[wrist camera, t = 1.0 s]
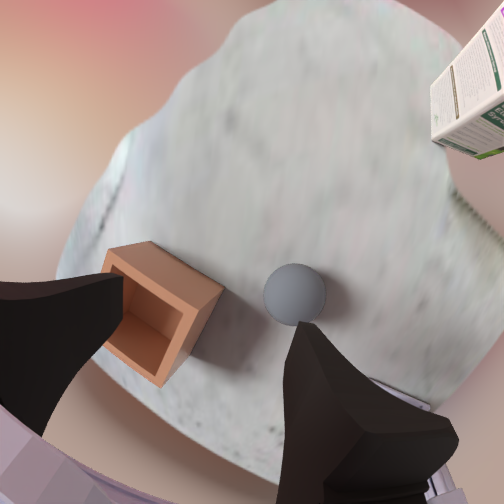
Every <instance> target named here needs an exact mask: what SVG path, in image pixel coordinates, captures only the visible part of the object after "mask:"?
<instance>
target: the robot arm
mask: <svg viewBox="0 0 504 504" xmlns="http://www.w3.org/2000/svg"><path fill="white" fill-rule="evenodd" d="M123 280H124V276H121V275H118V274H115V273H98V274H91V275H85V276H80V277H74V278H68V279H61V280H54V281H47V282H31V283H18V282H1V281H0V504H177V503H173V502H170V501H167V500H164V499H160V498H158V497H155V496H152V495H149V494H147V493H144V492H141V491H139V490H136V489H134V488H131V487H129V486H127V485H124V484H122V483H120V482H118V481H115V480H113V479H111V478H109V477H107V476H105V475H103V474H101V473H99V472H97V471H95V470H93V469H91V468H89V467H87V466H85V465H84V464H82V463H80V462H78V461H76V460H75V459H73V458H71V457H70V456H68V455H67V454H65V453H63V452H62V451H60V450H59V449H57V448H55V447H54V446H52V445H51V444H49V443H48V442H46V441H45V440H44V439H42V435H43V433H44V430H45V428H46V426H47V423H48V421H49V419H50V417H51V415H52V413H53V411H54V409H55V407H56V405H57V403H58V402H59V400H60V398H61V397H62V395H63V393H64V391H65V390H66V388H67V387H68V385H69V384H70V382H71V381H72V379H73V378H74V377H75V375H76V374H77V372H78V371H79V370H80V368H82V366H83V365H84V364H85V363H86V362H87V361H88V360H89V359H90V358H91V357H92V356H93V355H94V354H95V352H96V351H97V350H98V349H99V348H100V347H101V346H102V345H103V344H104V343H105V342H106V341H107V340H108V339H109V338H110V337H111V335H112V334H113V333H114V331H115V330H116V329H117V327H118V326H119V324H120V323H121V321H122V320H123ZM283 398H284V421H285V440H284V450H283V460H282V468H281V476H280V482H279V489H278V495H277V501H276V504H468V503H467V500H466V497H465V494H464V492H463V489H462V488H458V489H456V487H455V484H454V482H453V480H452V477H451V475H450V473H449V470H448V468H447V466H446V462H447V461H448V460H449V459H450V457H451V456H452V455H453V454H454V452H455V450H456V449H457V446H458V442H459V438H458V436H457V434H456V432H455V430H454V428H453V426H452V424H451V422H450V420H449V419H448V418H446V417H443V416H440V415H437V414H434V413H431V412H428V411H429V410H430V405H429V404H426V403H424V402H422V401H419V400H417V399H415V398H412V397H410V396H408V395H405V394H403V393H401V392H399V391H396V390H394V389H392V388H390V387H387V386H385V385H383V384H381V383H379V382H377V381H374V380H372V379H370V378H367V377H366V376H365V375H364V374H362V373H361V372H360V371H359V370H358V369H356V368H355V367H354V366H353V365H352V364H351V363H350V362H349V361H348V360H347V359H346V358H345V357H344V356H343V355H342V354H341V353H340V352H339V351H338V350H337V349H336V348H335V346H334V345H333V344H332V343H331V342H330V341H329V340H328V338H327V337H326V336H325V335H324V334H323V333H322V331H321V330H320V329H319V328H318V327H317V326H316V325H315V324H313V323H307V322H302V321H299V322H298V325H297V328H296V331H295V334H294V337H293V340H292V343H291V346H290V349H289V352H288V355H287V358H286V361H285V366H284V376H283ZM419 406H420V407H419Z"/></svg>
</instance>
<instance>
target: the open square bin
mask: <svg viewBox="0 0 504 504" xmlns="http://www.w3.org/2000/svg"><path fill="white" fill-rule="evenodd" d="M101 273H115V274H118V275H121V276H124V280H123V320H122V321H121V323H120V324H119V326H118V327H117V329H116V330H115V331H114V333H113V334H112V335H111V337H110V338H109V339H108V340H107V341H106V342H105V343H104V344H103V346H104V347H105V348H106V349H108V350H109V351H110V352H111V353H113V354H114V355H115V356H116V357H118V358H119V359H120V360H122V361H123V362H124V363H125V364H127V365H128V366H129V367H131V368H132V369H133V370H135V371H136V372H138V373H139V374H140V375H142V376H143V377H145V378H146V379H147V380H149V381H150V382H152V383H153V384H155V385H156V386H158V387H159V388H162V387H163V386H164V384H165V383H166V382H167V381H168V380H169V379H170V377H171V376H172V375H173V374H174V373H175V372H176V370H177V369H178V368H179V367H180V366H181V365H182V363H183V362H184V361H185V360H186V359H187V358H188V356H189V355H190V353H191V351H192V349H193V347H194V345H195V344H196V342H197V340H198V338H199V336H200V334H201V332H202V330H203V328H204V326H205V324H206V322H207V321H208V319H209V317H210V315H211V313H212V311H213V309H214V307H215V305H216V303H217V302H218V300H219V298H220V296H221V294H222V292H223V290H224V288H225V287H224V286H222V285H221V284H219V283H217V282H216V281H214V280H212V279H211V278H209V277H207V276H206V275H204V274H202V273H201V272H199V271H197V270H196V269H194V268H192V267H191V266H189V265H188V264H186V263H184V262H183V261H181V260H179V259H178V258H176V257H175V256H173V255H171V254H170V253H168V252H167V251H165V250H163V249H162V248H160V247H159V246H157V245H156V244H154V243H152V242H151V241H146V242H141V243H136V244H131V245H126V246H121V247H116V248H111V249H108V251H107V254H106V257H105V260H104V264H103V267H102V270H101Z"/></svg>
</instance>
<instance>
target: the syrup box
mask: <svg viewBox="0 0 504 504" xmlns="http://www.w3.org/2000/svg"><path fill="white" fill-rule="evenodd" d="M430 97H431V140H432V141H434V142H437V143H440V144H442V145H445V146H447V147H450V148H452V149H455V150H458V151H460V152H462V153H465V154H468V155H470V156H472V157H475V158H477V159H480V160H481V159H483V158H486V157H489V156H493V155H496V154H499V153H502V152H504V2H503V3H502V4H501V5H500V6H499V7H498V9H497V10H496V11H495V12H494V14H493V15H492V16H491V17H490V18H489V19H488V21H487V22H486V23H485V24H484V25H483V26H482V28H481V29H480V30H479V31H478V33H476V35H475V36H474V37H473V38H472V40H471V41H470V42H469V43H468V44H467V45H466V46H465V47H464V49H463V50H462V51H461V52H460V53H459V54H458V56H457V57H456V58H455V59H454V60H453V61H452V62H451V64H450V65H449V66H448V67H447V68H446V69H445V70H444V71H443V73H442V74H441V75H440V76H439V77H438V78H437V79H436V80H435V81H434V83H433V84H432V85H431V86H430Z"/></svg>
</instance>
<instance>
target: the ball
mask: <svg viewBox="0 0 504 504" xmlns="http://www.w3.org/2000/svg"><path fill="white" fill-rule="evenodd" d="M263 296H264V303H265V306H266V308H267V310H268V312H269V313H270V315H271V316H272V317H273V318H274V319H275V320H277V321H278V322H280V323H282V324H285V325H289V326H297V325H298V322H299V321H302V322H307V323H309V322H310V321H312V320H313V319H315V318H316V317H317V316H318V315H319V313H320V312H321V310H322V309H323V306H324V304H325V300H326V289H325V285H324V282H323V280H322V279H321V277H320V276H319V274H318V273H317V272H316V271H315V270H313V269H312V268H310V267H308V266H306V265H302V264H288V265H284V266H282V267H280V268H278V269H277V270H275V271H274V272H273V273H272V274H271V275H270V277H269V278H268V280H267V282H266V284H265V287H264V295H263Z"/></svg>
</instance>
